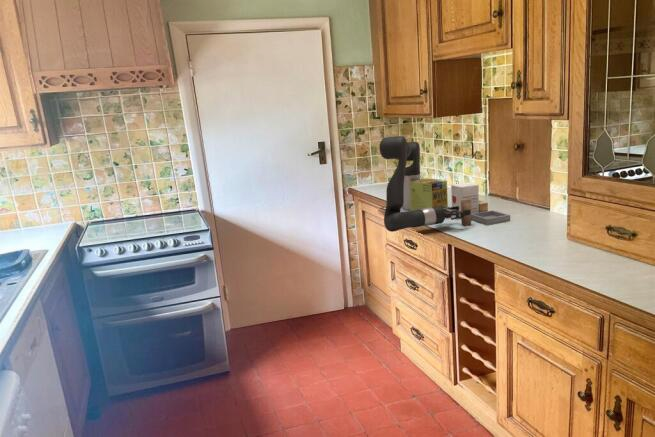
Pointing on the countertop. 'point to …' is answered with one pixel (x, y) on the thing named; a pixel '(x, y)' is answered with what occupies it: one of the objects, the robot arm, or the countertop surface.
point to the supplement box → (465, 195)
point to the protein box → (428, 193)
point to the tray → (490, 217)
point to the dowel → (466, 206)
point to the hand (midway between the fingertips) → (464, 210)
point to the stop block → (483, 206)
